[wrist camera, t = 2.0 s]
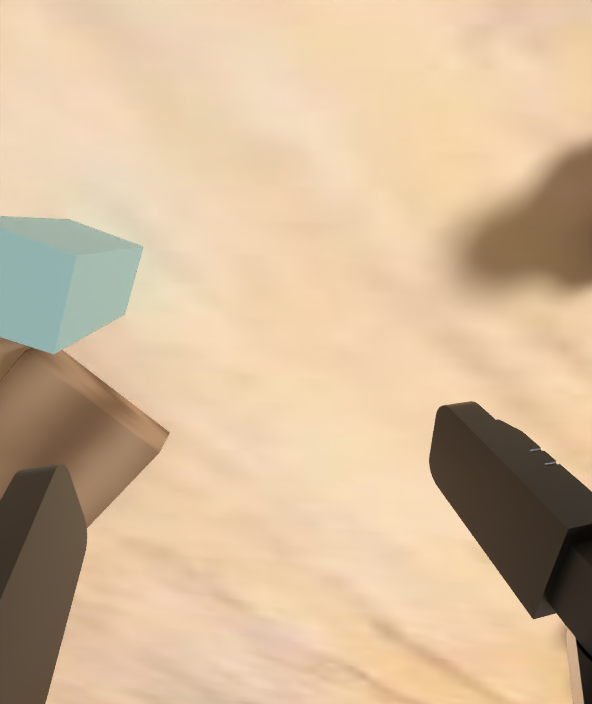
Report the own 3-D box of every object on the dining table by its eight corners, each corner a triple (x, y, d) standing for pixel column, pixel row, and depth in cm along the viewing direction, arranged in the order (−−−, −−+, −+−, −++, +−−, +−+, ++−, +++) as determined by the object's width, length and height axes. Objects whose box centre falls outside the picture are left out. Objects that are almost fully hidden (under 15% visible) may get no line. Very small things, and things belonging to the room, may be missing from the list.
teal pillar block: (53, 289, 29) (-55, 319, 20) (69, 219, 28) (-39, 214, 18) (124, 314, 30) (53, 354, 20) (143, 246, 29) (76, 255, 19)
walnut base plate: (-36, 441, 32) (-67, 462, 29) (48, 339, 30) (24, 351, 27) (84, 521, 34) (67, 548, 32) (169, 432, 33) (159, 452, 30)
